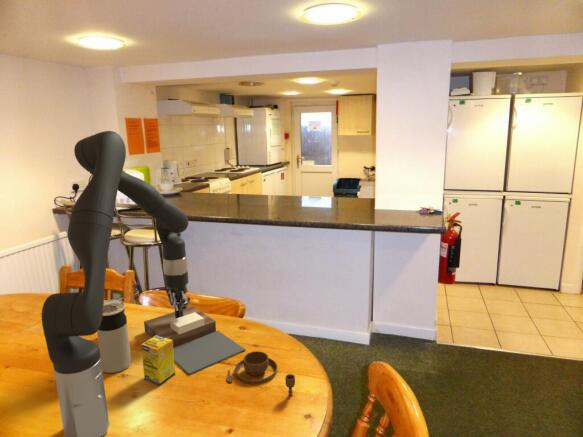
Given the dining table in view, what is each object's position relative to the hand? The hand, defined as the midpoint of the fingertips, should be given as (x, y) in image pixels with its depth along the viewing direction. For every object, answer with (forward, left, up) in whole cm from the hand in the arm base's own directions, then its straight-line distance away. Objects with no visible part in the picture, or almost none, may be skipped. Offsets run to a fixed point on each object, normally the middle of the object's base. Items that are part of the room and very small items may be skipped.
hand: (179, 319), depth 137 cm
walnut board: (+1, 0, -5) cm, 5 cm away
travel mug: (-5, +23, -5) cm, 24 cm away
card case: (-5, 0, -1) cm, 5 cm away
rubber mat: (-16, 0, -5) cm, 17 cm away
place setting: (-39, -4, -6) cm, 39 cm away
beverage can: (+13, +17, -5) cm, 22 cm away
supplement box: (-19, +16, -5) cm, 26 cm away
